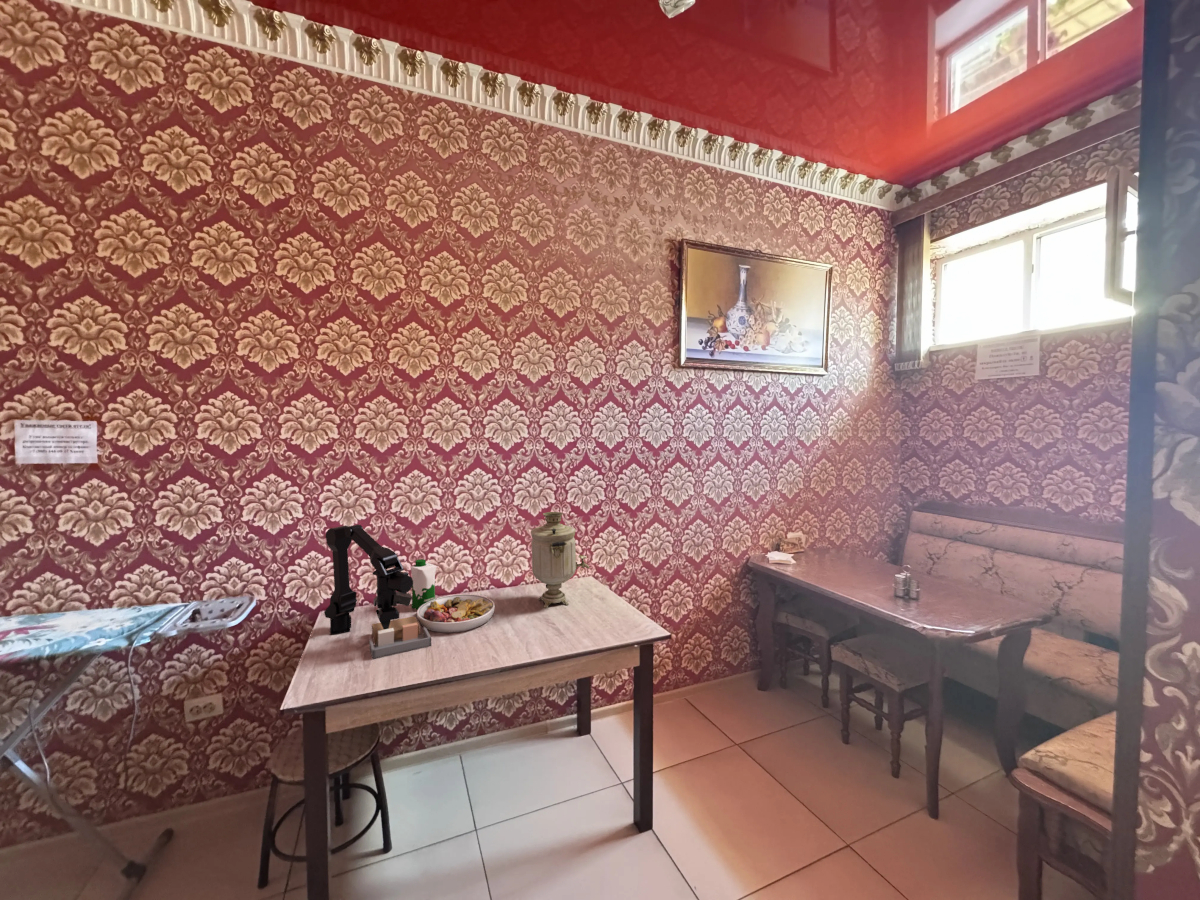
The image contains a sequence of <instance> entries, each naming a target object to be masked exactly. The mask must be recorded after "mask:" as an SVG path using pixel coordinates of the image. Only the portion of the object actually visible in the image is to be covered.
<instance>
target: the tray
mask: <svg viewBox="0 0 1200 900" xmlns="http://www.w3.org/2000/svg"><path fill="white" fill-rule="evenodd" d="M422 632H423V633H422V634H420V635H418V638H415V639H411V640H406V641H403V639H398V640H394V643H393V644H388V645H384V646H379V647H378V644H375V643H374V641H373V639H372V638H373V637H372V638H371V637H370V638H369V639H368V648H369V654H370V655H371V656H370V657H371V659H372V660H377V659H380V658H384V657H388V656H392V655H397V654H403V653H407V652H411V651H414V650H415V651H416V650H419V649H424V648H429V647H432V636H431V635H430V633H429V631H428V629H427V628H426V627H423V629H422Z"/></svg>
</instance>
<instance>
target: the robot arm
mask: <svg viewBox="0 0 1200 900" xmlns="http://www.w3.org/2000/svg"><path fill="white" fill-rule="evenodd" d="M325 540H326V545H327V546H328V547H329V549H330V550H331V553H332V567H333V582H334V583H333V584H334V590H333V592H332V594H331V595H330V598H329V605H328V606H327V607H326V609H325V610H324V612H323V613H324V616H325V618H328V619H329V620H330V621H329V623H330V627H329V635H330V636H332V635H333V636H334V635H337V634H342V633H349V632H351V628H352V616H351V614H350V613H353V612H354V611H355V607H356V606H357V602H358V599H357V591H356V590H353V589H352V588H351V586H350V584H351V583H350V569H349V568H350V565H349V556H348V555H349V547H350V545H351V544H352V541H353V542H354V543H355V544H356V545H357V546H358V547H359V548H361V550H362V551H363V552H365V553H366V555H367V556H369V557H368V558H369V562H370V564H371V565H372V566H373V568H374V569H375V570H374V571H373V572H372V575H373V576H376V590H375V594H376V596H375V597H374V598H373V606H374V607H376V608H377V609H375V613H376V616H377V618H378V621H379V623H381V625H382V627H383V629H389V625H390V621H392V620H397V619H400V612H399V609H398V608H396V607H397V606H398V605H402V606H406V607H409V606H410V604H411V603H412V593H411V594H410V593H409V592H410V591H412V586H413V580H412V576H410V575H409V572H408V571H404V566H403V564H402V563H401V560H400V559H399V557H398V555H397V553H396V552H395V551H393V550H392V549H390V548H388V547H384V546H382V545H380V544H379V543H378V542H377V540H375V539H374V538H373V537H372V536H371V535H370V534H369V533H368V532H367V531H366V530H364V527H363V526H362V525H361V524H353V525H349V526H348V525H341V526H336V527H330V528H329V529H328V530H327V531H326V532H325ZM397 604H398V605H397Z"/></svg>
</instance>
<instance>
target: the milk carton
mask: <svg viewBox="0 0 1200 900" xmlns="http://www.w3.org/2000/svg"><path fill="white" fill-rule="evenodd" d="M437 567H438V566H437V565H435V564H433V563H429V562H426V559H424V558H423V559H422V558H421V559H420V558H419V559H416V560H415V565H412V566H410V572H411V573H410V574H411V578H412V580H413V586H412V588H411V596H412V599H411V609H414V610H418V609H419V607H420V606H422V605H423V604H425V603H426V602H428V601H431V600H433V599H436V571H437Z"/></svg>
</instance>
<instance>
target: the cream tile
mask: <svg viewBox="0 0 1200 900" xmlns="http://www.w3.org/2000/svg"><path fill="white" fill-rule="evenodd" d="M393 643H394V629H393V628H389V629H384V630H379V631H378V647H379V646H384V645H388V644H393Z"/></svg>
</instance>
